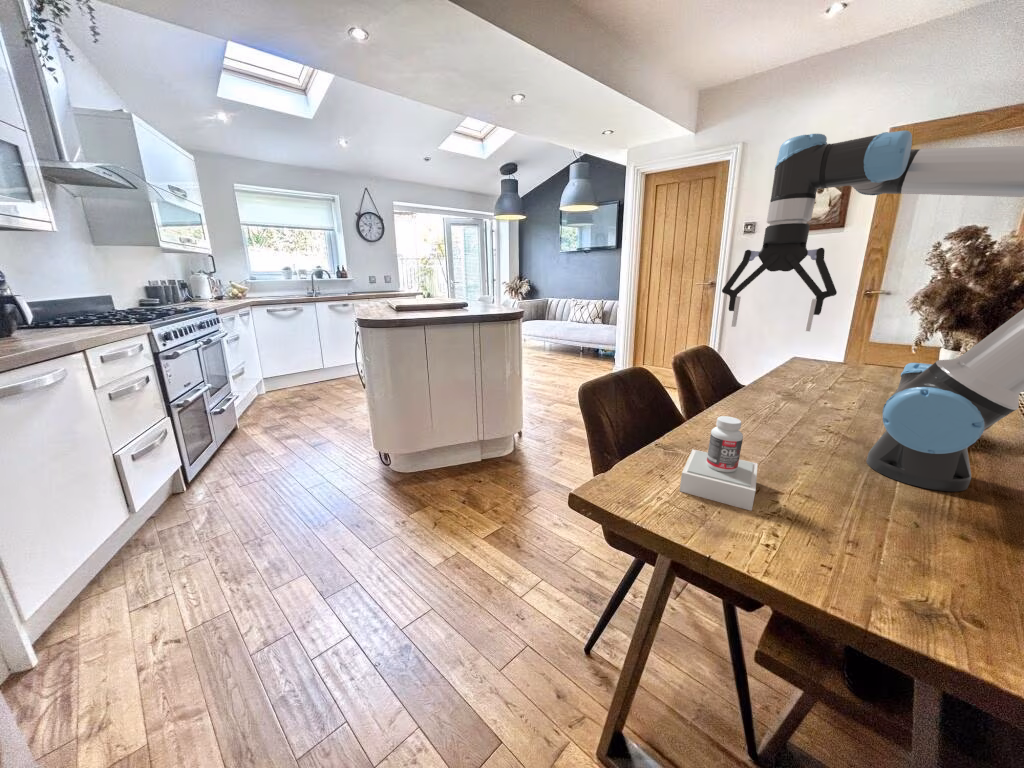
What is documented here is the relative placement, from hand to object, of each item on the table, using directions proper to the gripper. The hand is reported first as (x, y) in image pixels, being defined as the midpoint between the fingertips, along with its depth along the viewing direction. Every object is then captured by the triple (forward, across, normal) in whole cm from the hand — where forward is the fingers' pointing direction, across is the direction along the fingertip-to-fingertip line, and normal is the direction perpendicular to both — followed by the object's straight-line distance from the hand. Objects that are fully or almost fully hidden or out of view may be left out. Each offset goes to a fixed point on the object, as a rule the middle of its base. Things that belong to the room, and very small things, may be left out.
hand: (769, 328), depth 86 cm
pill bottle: (+25, +4, +23) cm, 34 cm away
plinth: (+29, +4, +23) cm, 37 cm away
